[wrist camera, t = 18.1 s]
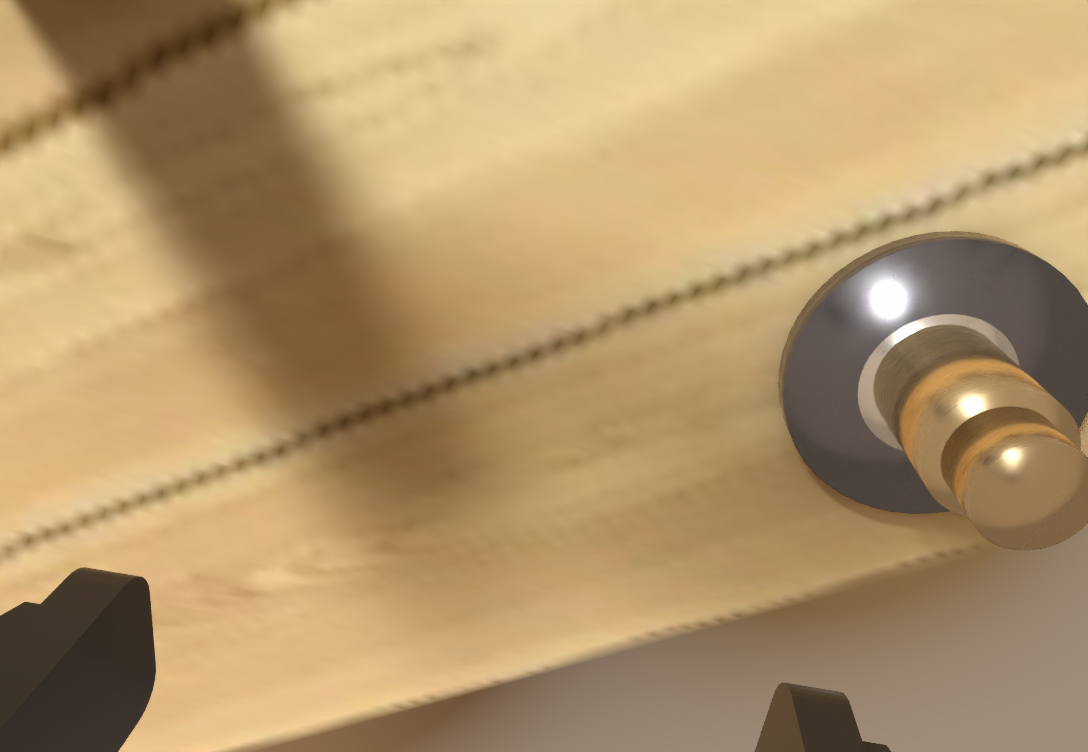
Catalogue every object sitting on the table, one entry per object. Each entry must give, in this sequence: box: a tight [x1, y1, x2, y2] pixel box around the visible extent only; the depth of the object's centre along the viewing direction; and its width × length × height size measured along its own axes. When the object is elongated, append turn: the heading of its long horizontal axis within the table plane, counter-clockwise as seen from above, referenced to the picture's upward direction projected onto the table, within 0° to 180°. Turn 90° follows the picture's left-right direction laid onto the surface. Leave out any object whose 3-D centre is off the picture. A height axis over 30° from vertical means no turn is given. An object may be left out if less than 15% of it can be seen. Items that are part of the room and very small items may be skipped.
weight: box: [873, 324, 1088, 550], centre depth 34 cm, size 6×6×10 cm
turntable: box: [779, 231, 1088, 513], centre depth 39 cm, size 14×14×2 cm
